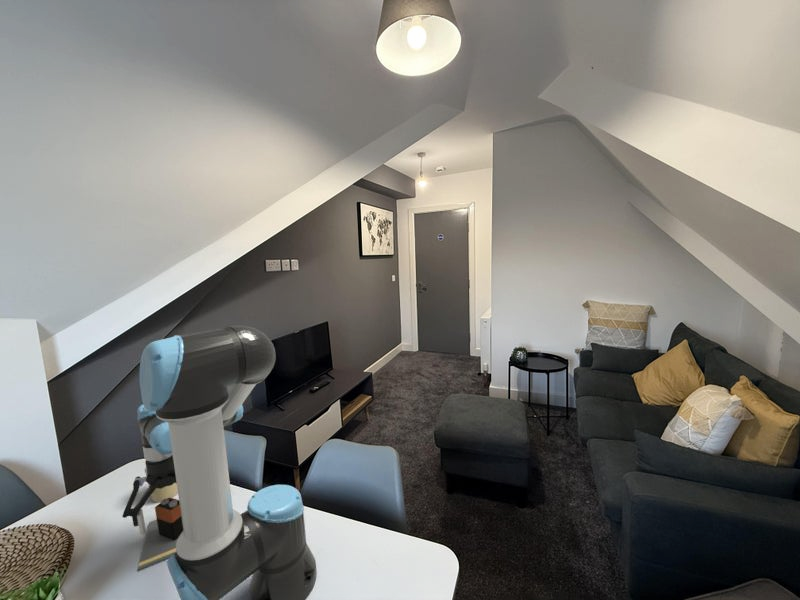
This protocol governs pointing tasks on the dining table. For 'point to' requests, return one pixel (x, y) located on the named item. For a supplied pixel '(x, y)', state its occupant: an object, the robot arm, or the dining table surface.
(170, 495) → the coffee cup
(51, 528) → the dining table surface
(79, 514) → the dining table surface
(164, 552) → the book
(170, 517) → the battery
